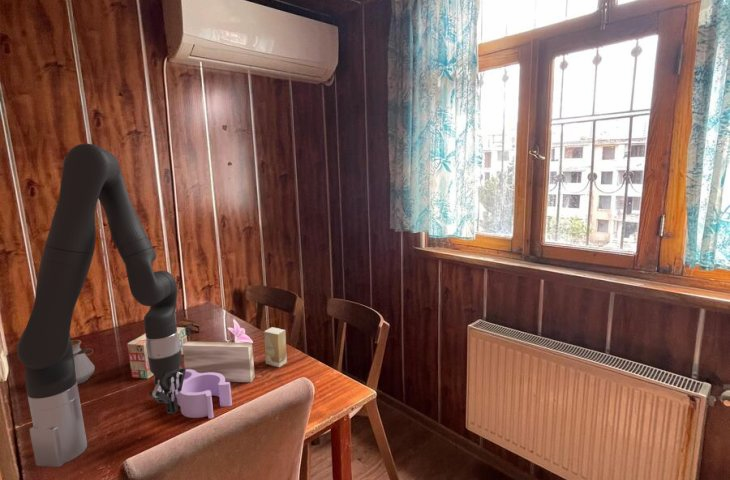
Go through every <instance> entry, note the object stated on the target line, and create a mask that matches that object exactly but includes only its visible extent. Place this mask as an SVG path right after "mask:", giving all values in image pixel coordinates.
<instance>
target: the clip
mask: <svg viewBox="0 0 730 480" xmlns="http://www.w3.org/2000/svg"><path fill="white" fill-rule="evenodd" d="M212 396H216V397H219V406H220V407H224V408H225V407H231V406H232V405H233V401H232V400H233V399H232V392H231V382H228V381H225V377H224V376H223V375H222V374H220V373H215V372H208V373H198V372H196V371H195V370H192V369H186V372H185V376H184V381H183V385H182V390H181V391H180V392H178V397H177V402H178V407H180V412H181V415H183V416H184V417H186V418H189V419H191V418H192V419H193V418H194V419H195V418H196V419H197V418H198V419H199V418H204V417H208V420H209V419H213V418H214V408H213V397H212Z"/></svg>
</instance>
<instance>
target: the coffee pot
mask: <svg viewBox="0 0 730 480" xmlns="http://www.w3.org/2000/svg"><path fill="white" fill-rule="evenodd" d="M71 343H72V349H73V356H74V362H75V372H76V380H77V386H78V385H80V384H82V383H85V382H86V381H88V379H90V377H91V376H92V375H93V374H94V372H95V365H94V363H93V362H92V361H91V360H90V358H89V357H88V355H87V354H86V353H87V352H89V351H90V348H89V347H85V348H83V349H82V348H81V347H80V346H81V344H82V341H81V340H80V339H73V340H72V339H71ZM91 350H92V352H91V353H90V355H91V354H93V352H94V350H93V349H91Z"/></svg>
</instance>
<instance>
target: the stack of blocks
mask: <svg viewBox="0 0 730 480" xmlns="http://www.w3.org/2000/svg"><path fill="white" fill-rule="evenodd" d="M176 327H177V326H176ZM177 333H178V336H179V340H180V348H181V355H183V347H182V345H184V344H185V343H186V342H187V341H188V337H187V336H186V329H185V328H184V327H183V328H181V327H177ZM127 351H128V359H129V365H130V373H131V378H135V379H147V380H148V379H149V378H151V377H153V376H155V375H154V374H153V373H152V372H151V371H150V368H149V362H148V355H147V348H146V334H145V333H144V334H141V336H138V337H137V338H135V339H133V340H131V341H129V342H128V343H127Z"/></svg>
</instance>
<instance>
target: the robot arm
mask: <svg viewBox="0 0 730 480" xmlns="http://www.w3.org/2000/svg"><path fill="white" fill-rule="evenodd" d="M61 173H62V174H61V180H60V188H59V194H58V199H57V203H56V207H55V211H54V213H53V217H52V219H51V224H50V228H49V230H48V235H47V238H46V240H45V243H44V248H43V250H42V255H41V258H40V262H39V263H40V264H39V268H38V272H37V273H38V274H37V281H36V287H35V298H34V302H33V307H32V309H31V312H30V313H31V314H30V316H29V317H28V321H27V324H26V327H25V328H24V330H23V331H22V333H21V335H20V337H19V340H18V343H17V346H16V353H17V357H18V359H19V360H20V363H21V364H23V365H24V369H25V370H24V371H25V390H26V395H27V400H28V407H29V410H30V415H31V421H32V425H33V426H32V427H30V428H29V436H30V441H31V446H32V450H33V451H32V452H33V457H34V462H35V465H36V467H37V466H38V467H52V468H59V467H62V466H63V465H65V463H68V462H71V461H73V460H75V459H76V458H78V457H79V456H80V455H81V454H83V453H84V452H85V451H86V450H87V448H88V441H87V436H86V429H85V424H84V423H85V422H84V418H83V411H82V406H81V400H80V394H79V392H80V391H79V387H78V385H77V380H76V372H75V362H74V356H73V349H72V343H71V340H72V339H71V325H72V320H73V316H74V312H75V307H76V305H77V302H78V299H79V297H80V295H81V292H82V290H83V288H84V286H85V282H86V279H87V276H88V274H89V270H90V267H91V264H92V261H93V257H94V254H95V249H96V241H97V240H96V239H97V235H96V234H97V231H96V228H97V227H96V208H97V204H98V201H99V202H100V204H101V207H102V208H103V211H104V214H105V217H106V221H107V224H108V229H109V233H110V235H111V238H112V241H113V244H114V246H115V248H116V250H117V252H118V254H119V255H120V257H121V259H122V261H123V263H124V266H125V270H126V276H127V277H126V278H127V281H128V286H129V290H130V293H131V295H132V297H133V298H134V300H135V301H136V302H137V303H139V304H140V305H142V306H144V307H149V310H148V311H147V312H146V314H145V315H144V317H143V326H144V332H145V333H144V334H146V348H147V355H148V362H149V368H150V371H151V372H152V373H153V374H154V375H153V376H154V385H155V386H154V388H153V389H154V390H150V391H149V394H148V395H149V397H150V398H152V399H153V400H155V401H156V402H157V403H158V404H165V409H166V413H167V414H168V415H175V414H176V413H177V412H178V410H179V405H178V402H177V397H178V392H180V391H181V390H182V385H183V381H184V376H185V372H186V369H185V367H184V368H183V367H182V365H183V357H182V355H183V354H182V355H181V348H180V340H179V336H178V333H177V320H176V309H177V299H178V284H177V281H176V279H175V277H174V275H172V274H171V273H170V272H169V271H166V270H156V271H154V269H153V262H155V261H156V259H157V253H156V251H155V249H154V247H153V245H152V243H151V241H150V239H149V237H148V235H147V232H146V230H145V229H144V227H143V224H142V222H141V221H140V219H139V216H138V214H137V212H136V210H135V207H134V206H133V203H132V201H131V199H130V195H129V193H128V190H127V187H126V183H125V180H124V176H123V172H122V169H121V166H120V162H119V161H118V159H117V157H116V156H115V155H114V154H113V153H111V152H110V151H109V150H107V149H104V148H102V147H100V146H98V145H95V144H92V143H80V144H77V145H75V146H73V147H72V148H71V149H70V150H68V152H67V153H66V155H65V157H64V160H63V166H62V172H61Z"/></svg>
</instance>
